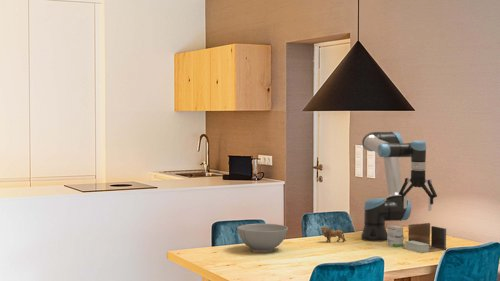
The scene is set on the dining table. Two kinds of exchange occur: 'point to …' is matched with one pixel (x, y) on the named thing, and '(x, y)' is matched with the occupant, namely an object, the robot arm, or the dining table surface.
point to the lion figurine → (332, 234)
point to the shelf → (421, 235)
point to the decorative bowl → (262, 236)
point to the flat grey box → (417, 246)
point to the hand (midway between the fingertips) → (417, 209)
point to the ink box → (395, 236)
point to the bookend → (438, 237)
